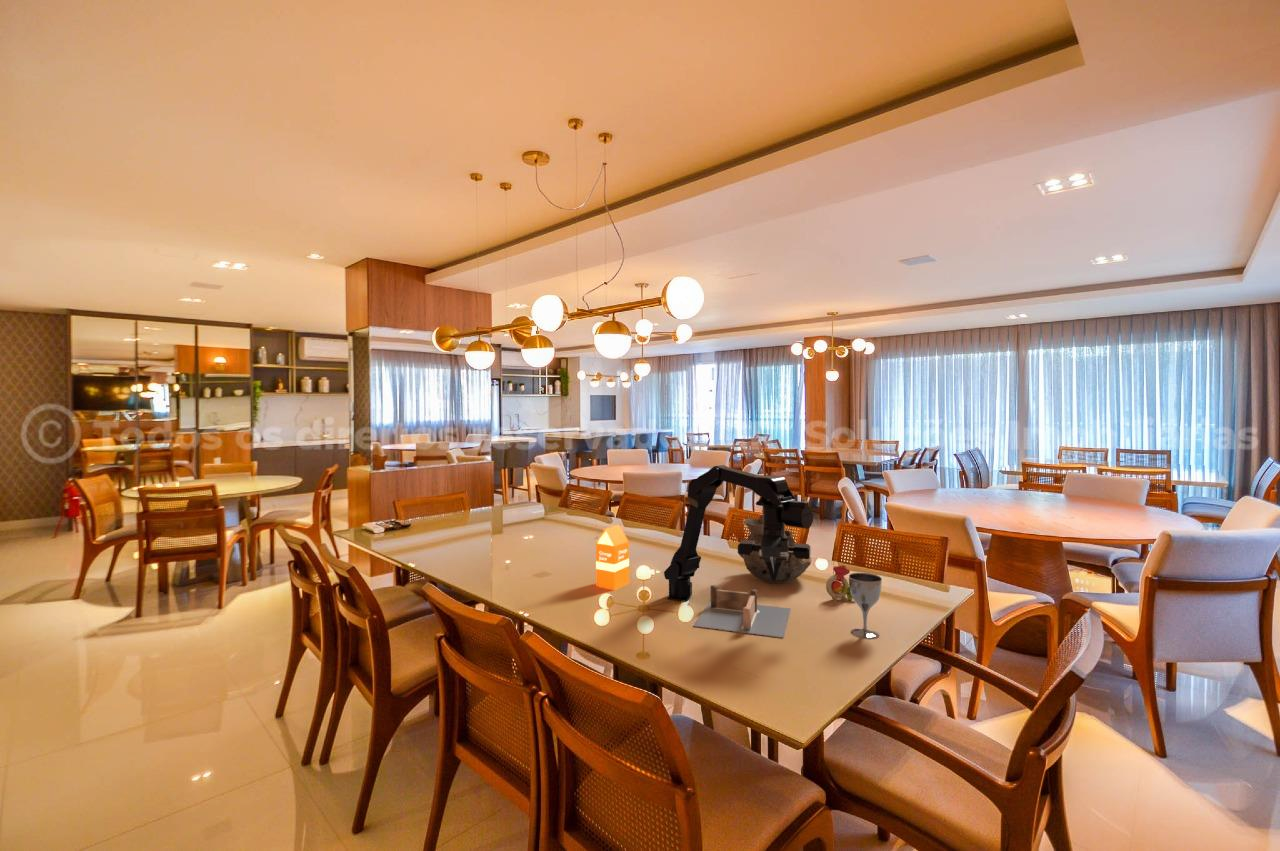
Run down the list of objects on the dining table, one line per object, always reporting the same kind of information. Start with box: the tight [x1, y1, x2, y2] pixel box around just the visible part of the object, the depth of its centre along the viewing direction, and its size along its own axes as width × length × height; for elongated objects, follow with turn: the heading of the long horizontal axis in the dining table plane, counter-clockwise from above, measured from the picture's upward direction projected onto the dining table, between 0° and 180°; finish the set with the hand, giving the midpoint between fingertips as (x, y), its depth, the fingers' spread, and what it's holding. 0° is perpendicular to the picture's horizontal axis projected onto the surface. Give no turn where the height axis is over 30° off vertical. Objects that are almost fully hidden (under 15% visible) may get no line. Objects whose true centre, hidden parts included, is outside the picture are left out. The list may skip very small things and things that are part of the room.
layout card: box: [692, 599, 791, 639], centre depth 159 cm, size 24×22×1 cm
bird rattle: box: [825, 565, 854, 601], centre depth 173 cm, size 6×11×9 cm
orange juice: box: [595, 523, 630, 591], centre depth 190 cm, size 8×9×20 cm
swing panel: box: [743, 595, 755, 629], centre depth 155 cm, size 13×2×5 cm, turn 162°
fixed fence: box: [710, 585, 758, 612], centre depth 165 cm, size 14×2×6 cm, turn 70°
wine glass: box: [848, 572, 882, 640], centre depth 147 cm, size 8×8×15 cm
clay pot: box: [738, 514, 812, 584], centre depth 194 cm, size 25×24×22 cm
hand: (774, 580), depth 151 cm, fingers closed
